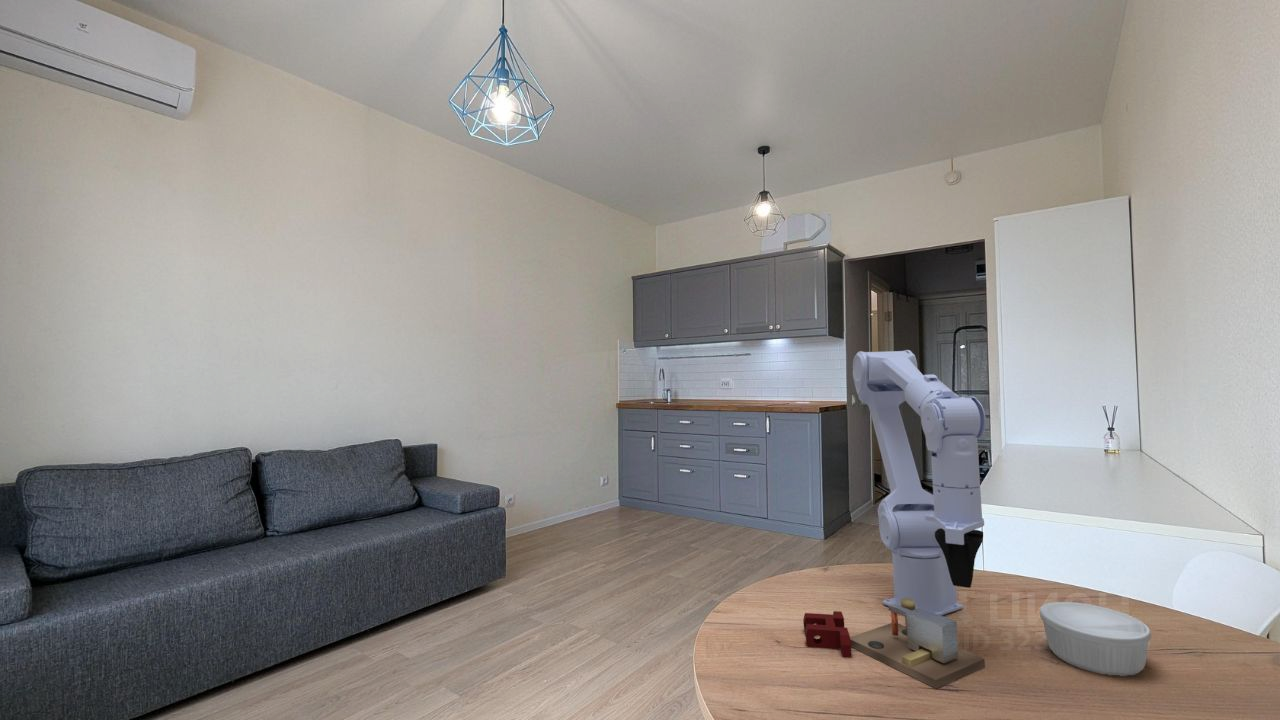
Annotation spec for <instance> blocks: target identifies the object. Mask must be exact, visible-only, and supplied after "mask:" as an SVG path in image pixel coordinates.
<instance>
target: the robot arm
mask: <svg viewBox="0 0 1280 720" xmlns="http://www.w3.org/2000/svg"><path fill="white" fill-rule="evenodd" d="M852 378H853V382H854V387H855V391H856V393H857V396H858V400H859V401H861V402H862V403H864V404H865V405H867V406H868V410H869V412H870V416H871V420H872V423H873V428H874V431H875V435H876V440H877V443H878V449H879V452H880V455H881V459H882V463H883V467H884V471H885V476H886V479H887V483H888V487H889V491H890V493H889V494H888V495H886V496H885V497H884V498H882V500H881V501H880V503H879V504H878V507H877V513H878V514H877V515H878V528H879V529H878V530H879V535H880V538H881V541H882V543H883V545H884V546H885V547H886V548H887V549H888V550H890V551H891V552H892V553H891V554H892V572H893V573H892V574H893V593H894V595H893V597H891V598H887V599H884V600H882V604H883V605H885V606H888V605H890V604H896V605H898V606H901V599H903V598H908V599H912V600H914V601H915V610H916V609H919V608H922V609H925V610H927V611H930V612H933V613H936V614H938V615H941V616H944V615H947V614H950V613H952V612H955V611H959V610H960V609H963V608H964V607H963V604H961V603H959V602H958V592H957V587H959V588H961V587H962V588H967V589H971V587H972V583H973V579H974V578H973V577H974V570H975V560H976V557H977V555H978V554H977V553H978V551H979V549H980V547H981V545H982V543H983V539H984V532H983V531H982V530H978V529H980V528H983V527H984V526H985V519H984V518H983V510H982V495H981V494H982V493H981V492H982V491H981V477H980V464H979V463H980V462H979V460H980V459H979V445H978V444H979V443H978V439H980V438H982V436H983V435H984V434H985V431H986V426H987V418H986V417H987V416H986V412H985V410H984V406H983V405H982V403H981V402H980V401H979V400H978V398H977V397H976V396H965V397H964V396H961V397H960V396H959V395H958V394H957V393H955V392H954V391H953V390H952V389H951V388H949V387H948V386H947V385H946V384H945V383H943V382H942V381H941V380H940V379H939V378H938V376H937V375H935V374H923V373H922V372H921V371H920V370H919V369H918V361H917V358H916V355H915V354H914V353H913V351H911V350H910V349H904V350H899V351H898V350H897V351H895V350H893V351H892V350H891V351H889V350H888V351H857V353H856V354H855V355H854V358H853V361H852ZM904 402H906V403H907V404H908V405H909V406H910V407H911V409H913V411H914V412H915V413H916V414H917V415H918V416H919V417H920V424H921V428H922V431H923V434H924V437H925V445H926V448H927V451H930V459H931V476H932V478H931V479H932V480H931V481H932V493H931V492H929V491H927V490H925V489H923V487H922V484H921V480H920V477H919V473H918V469H917V466H916V465H917V464H916V462H915V459H914V456H913V452H912V449H911V446H910V445H911V444H910V442H909V438H908V435H907V434H908V433H907V431H906V428H905V425H904V420H903V417H902V415H901V410H900V408H899V407H900V405H901V404H902V403H904ZM912 611H913V610H912Z"/></svg>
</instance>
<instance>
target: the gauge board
mask: <svg viewBox="0 0 1280 720" xmlns="http://www.w3.org/2000/svg"><path fill="white" fill-rule="evenodd" d="M901 607H903V608H906V609H909V610H911V611H912V610H915V601H914V600H912V599H908V598H903V599H901ZM904 618H905V625H904V624H900V623H898V634H899V635H898V636H894V635H892V622H890V623H888V624H885V625H881V626H878V627H875V628H872V629H870V630H867V631H864V632H860V633H858V634H855V635H852V636H850V641H851V649H852V648H853V649H854V650H856V651H859V652H861V653H863V654H865V655H867V656H869V657H870V658H873V659H875V660H877V661H879V662H880V663H884V664H885V665H887V666H889V667H891V668H893V669H895V670H897V671H899V672H901V673H904V674H906V675H907V676H910V677H912V678H913V679H915V680H917V681H919V682H922V683H924V684H926V685H928V686H930V687H931V688H933V689H935V690H937V689H939V688H941V687H943V686H946V685H947V684H950V683H952V682H954V681H957V680H958V679H961V678H962V677H965V676H967V675H968V676H969V675H970V674H973V673H974V672H977V671H978V670H980V669H981V670H982V669H983V668H985V667H986V659H985V658H984V657H982V656H979V655H977V654H975V653H972V652H969V651H967V650H965V649H962V648H959V647H958V655H959V657H958V658H956V659H953V660H951V661H949V662H946V663H942V662H940V661H938V660H935V659H933V658H932V651H931V650H929V649H926V648H923V649H920V650H918V651H915V650H913V649H911V648H908V639H907V620H906V617H905V616H904Z"/></svg>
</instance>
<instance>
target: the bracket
mask: <svg viewBox="0 0 1280 720" xmlns="http://www.w3.org/2000/svg"><path fill="white" fill-rule="evenodd" d="M802 624H803V630H804V636H805V643H806V646H807V648H813V649H828V650H839V651H840V653H841V657H842V658H845V659H853V657H852V647H851V641H850V637H851V635H850V632H849V630H848V627H845V618H844V614H843V612H842V611H839V610H836V611H835V610H834V611H833V612H832V614H830V613H829V614H828V613H813V612H811V613H810V612H805V613H804V615H803V623H802ZM817 636H818V637H819V638H816V637H817Z"/></svg>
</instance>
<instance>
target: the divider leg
mask: <svg viewBox="0 0 1280 720" xmlns="http://www.w3.org/2000/svg"><path fill="white" fill-rule="evenodd" d="M888 611H889V612H890V617H891V618H890V619H891V623H892V635H894V636H898V635H899V634H898V624H899V620H898V619H899V616H902V617H904V618H905V617H906V620H907V639H908V648H911V649H913V650H915V651H918V650H920V649H923V648H926V649H929V650H931V651H932V658H933V659H935V660H938V661H940V662H942V663H946V662H949V661H951V660H953V659H956V658H958V657H959V655H958V648H959V641H958V639H959V638H958V622H957V620H954V619H953V618H952V619H951V618H949V617H947V616H944V615H938V614H936V613H933V612H930V611H927V610H925V609H922V608H919V609H916V610H913V611H911V610H909V609H906V608H903V607H901V606H898V605H896V604H890V605H888Z"/></svg>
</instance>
